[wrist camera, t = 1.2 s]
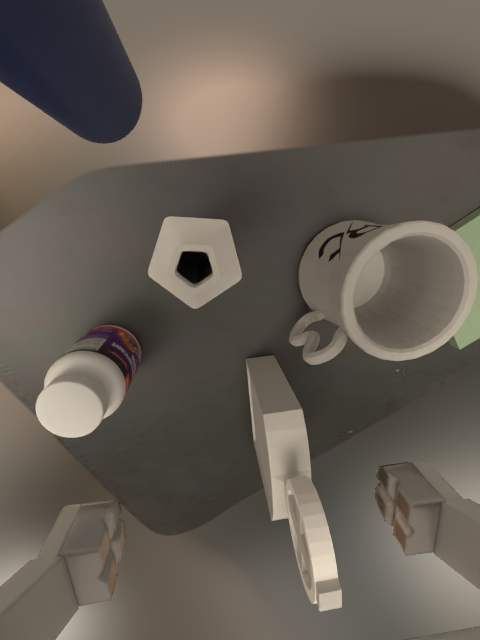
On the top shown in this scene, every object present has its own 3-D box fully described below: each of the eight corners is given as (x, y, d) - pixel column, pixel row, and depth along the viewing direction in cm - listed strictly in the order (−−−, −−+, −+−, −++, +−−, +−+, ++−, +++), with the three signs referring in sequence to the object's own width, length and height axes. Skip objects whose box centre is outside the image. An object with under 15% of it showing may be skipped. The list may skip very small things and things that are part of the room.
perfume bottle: (163, 225, 26) (115, 227, 12) (215, 211, 27) (226, 196, 12) (180, 278, 28) (155, 336, 14) (229, 264, 28) (255, 308, 14)
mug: (353, 196, 27) (433, 182, 18) (410, 273, 30) (506, 296, 20) (248, 296, 29) (269, 332, 19) (310, 360, 32) (356, 420, 22)
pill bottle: (149, 370, 30) (125, 436, 21) (92, 384, 30) (42, 456, 21) (132, 316, 28) (97, 362, 19) (71, 330, 28) (6, 383, 19)
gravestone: (253, 441, 34) (305, 669, 16) (245, 358, 31) (298, 530, 14) (279, 437, 34) (357, 658, 17) (273, 354, 31) (360, 519, 14)
